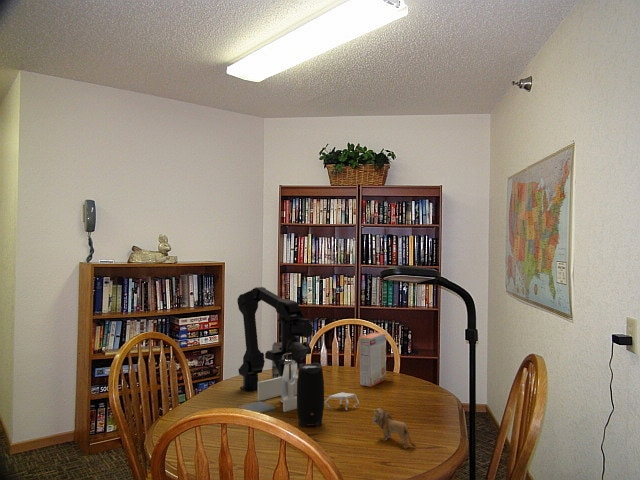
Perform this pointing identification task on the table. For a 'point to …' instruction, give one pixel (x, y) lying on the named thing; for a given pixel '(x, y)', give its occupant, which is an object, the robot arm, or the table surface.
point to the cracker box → (372, 359)
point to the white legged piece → (342, 396)
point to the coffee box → (274, 369)
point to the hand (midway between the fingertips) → (288, 374)
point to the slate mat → (258, 407)
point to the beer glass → (289, 379)
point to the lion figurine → (391, 426)
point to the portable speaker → (310, 394)
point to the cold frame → (275, 393)
